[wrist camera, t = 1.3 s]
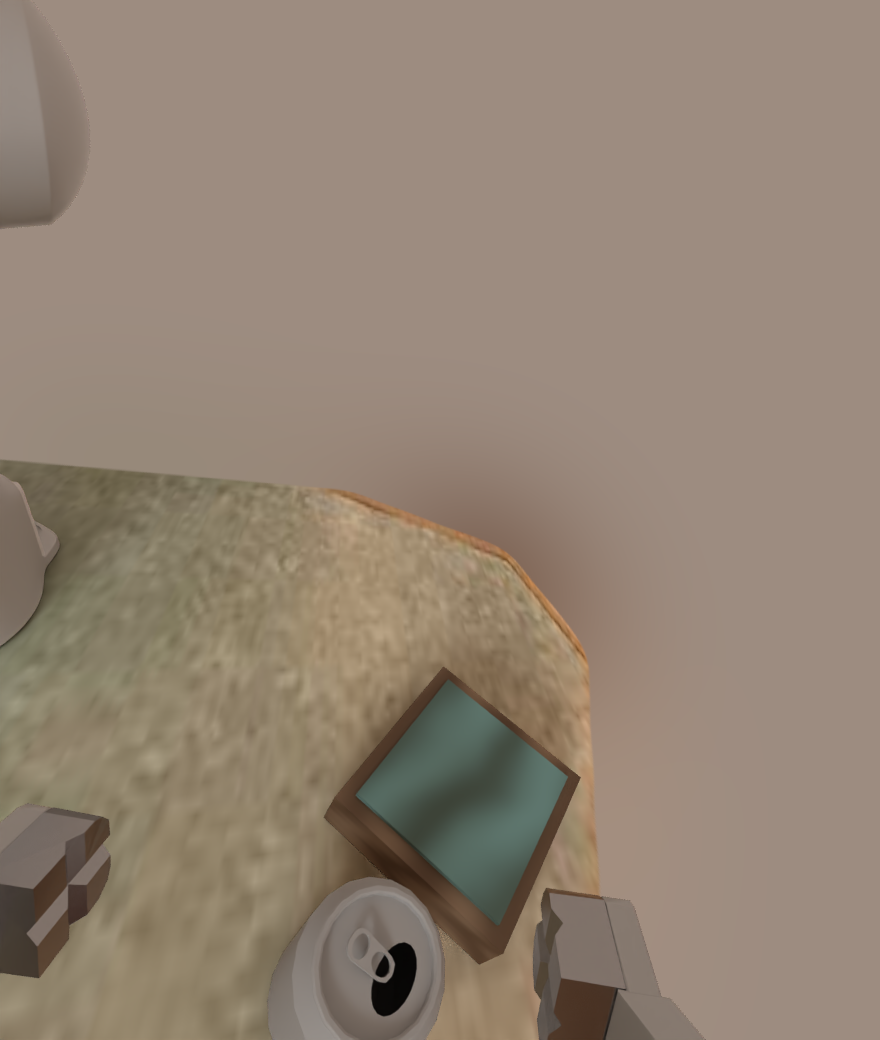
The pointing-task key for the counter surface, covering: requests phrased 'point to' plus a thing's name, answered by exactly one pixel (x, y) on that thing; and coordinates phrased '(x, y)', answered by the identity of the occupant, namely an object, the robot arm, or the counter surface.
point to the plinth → (458, 812)
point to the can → (360, 968)
